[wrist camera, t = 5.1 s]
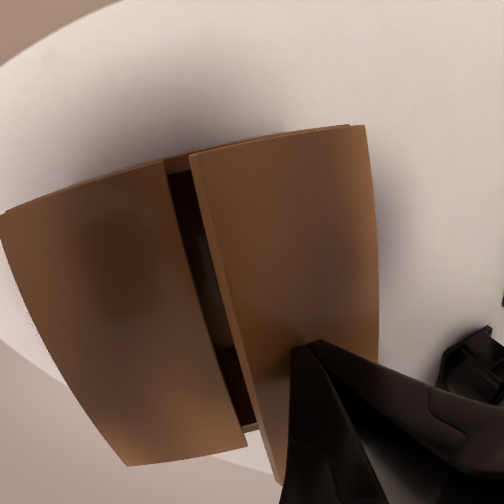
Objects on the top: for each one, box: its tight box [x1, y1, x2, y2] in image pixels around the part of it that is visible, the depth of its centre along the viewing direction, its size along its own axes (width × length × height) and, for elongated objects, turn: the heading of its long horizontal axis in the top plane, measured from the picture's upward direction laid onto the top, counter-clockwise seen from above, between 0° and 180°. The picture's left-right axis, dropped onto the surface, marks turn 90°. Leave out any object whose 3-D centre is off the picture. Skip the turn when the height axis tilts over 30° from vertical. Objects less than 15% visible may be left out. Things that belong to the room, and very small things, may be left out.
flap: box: [188, 125, 379, 486], centre depth 9 cm, size 5×11×1 cm, turn 11°
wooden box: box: [0, 124, 350, 466], centre depth 13 cm, size 11×11×7 cm
